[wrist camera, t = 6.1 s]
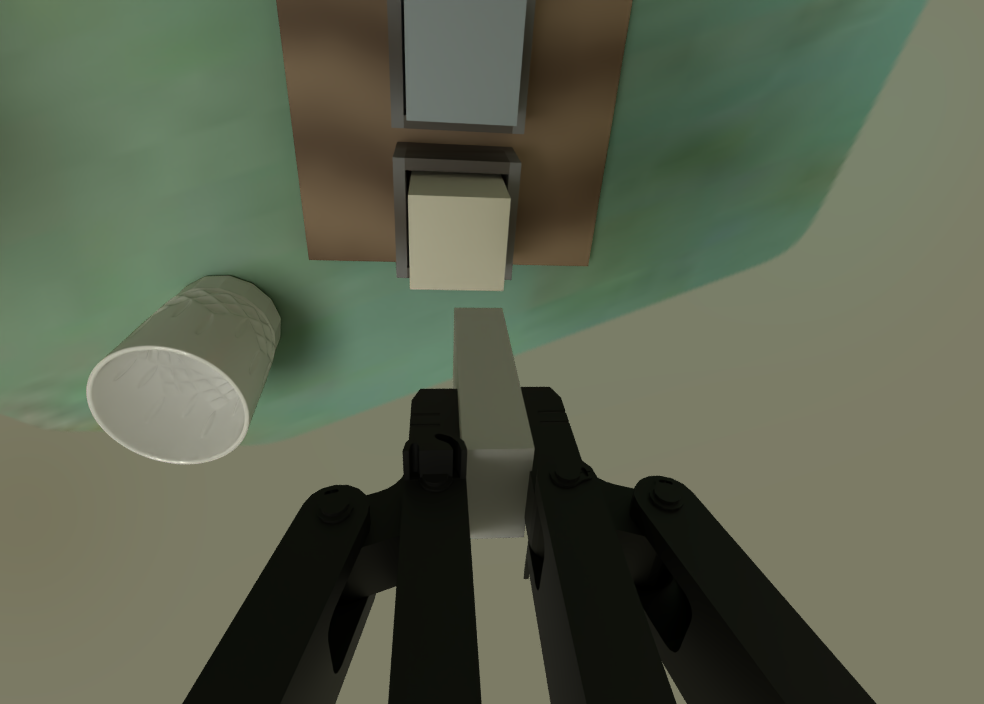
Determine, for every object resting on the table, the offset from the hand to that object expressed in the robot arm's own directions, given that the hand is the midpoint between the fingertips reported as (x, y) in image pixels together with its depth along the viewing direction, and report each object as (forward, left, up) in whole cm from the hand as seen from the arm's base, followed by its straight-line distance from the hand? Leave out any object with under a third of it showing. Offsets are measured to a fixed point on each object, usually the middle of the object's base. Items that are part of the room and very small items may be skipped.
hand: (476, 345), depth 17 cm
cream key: (+1, 0, -15) cm, 15 cm away
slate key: (-7, 0, -15) cm, 17 cm away
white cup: (+10, -15, -19) cm, 26 cm away
